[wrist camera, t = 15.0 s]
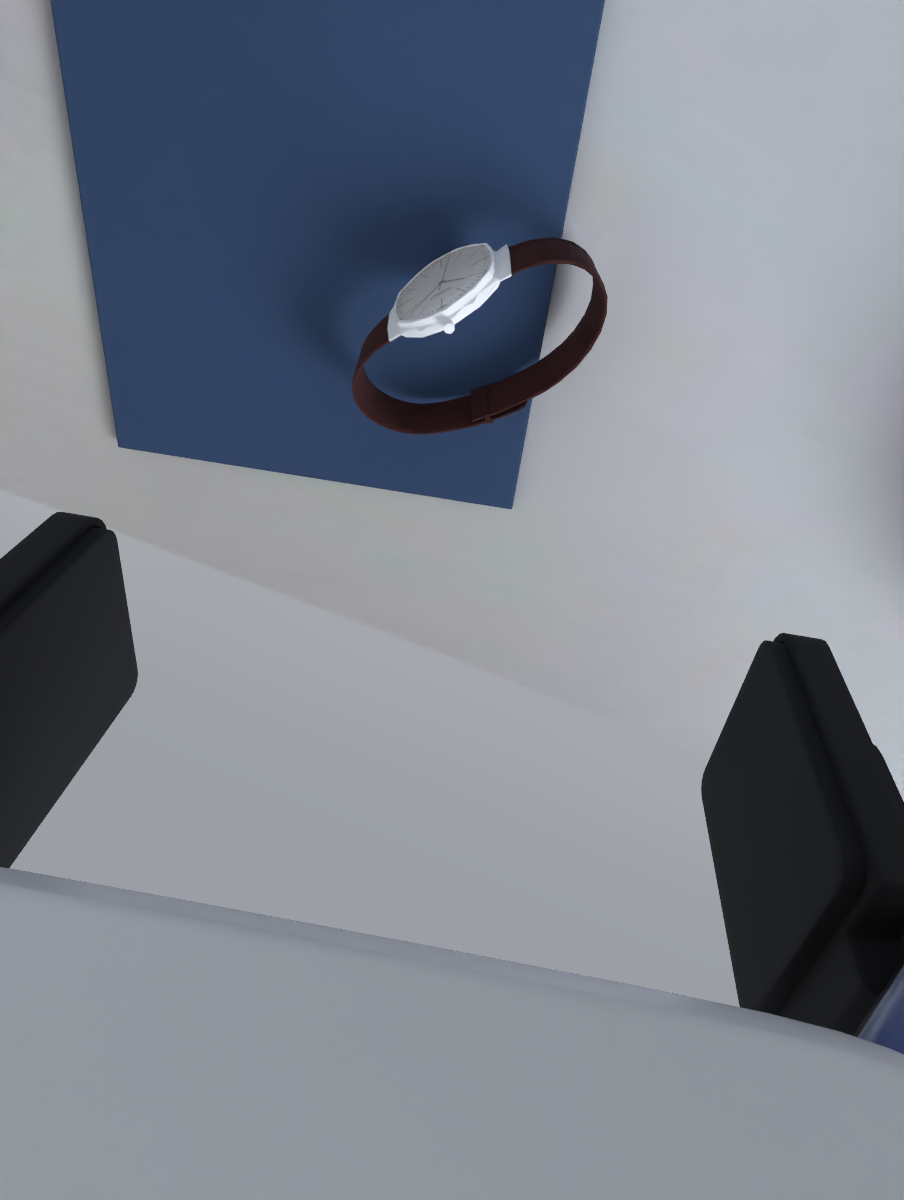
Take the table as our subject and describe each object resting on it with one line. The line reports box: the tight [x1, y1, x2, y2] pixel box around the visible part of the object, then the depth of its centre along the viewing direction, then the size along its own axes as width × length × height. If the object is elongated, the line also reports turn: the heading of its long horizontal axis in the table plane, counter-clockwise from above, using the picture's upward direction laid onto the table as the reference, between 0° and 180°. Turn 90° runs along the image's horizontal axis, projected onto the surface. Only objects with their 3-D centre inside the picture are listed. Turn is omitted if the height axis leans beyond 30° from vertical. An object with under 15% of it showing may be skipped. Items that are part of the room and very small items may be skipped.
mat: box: [51, 0, 605, 509], centre depth 22 cm, size 18×14×1 cm
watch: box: [352, 237, 607, 435], centre depth 22 cm, size 8×5×4 cm, turn 119°
